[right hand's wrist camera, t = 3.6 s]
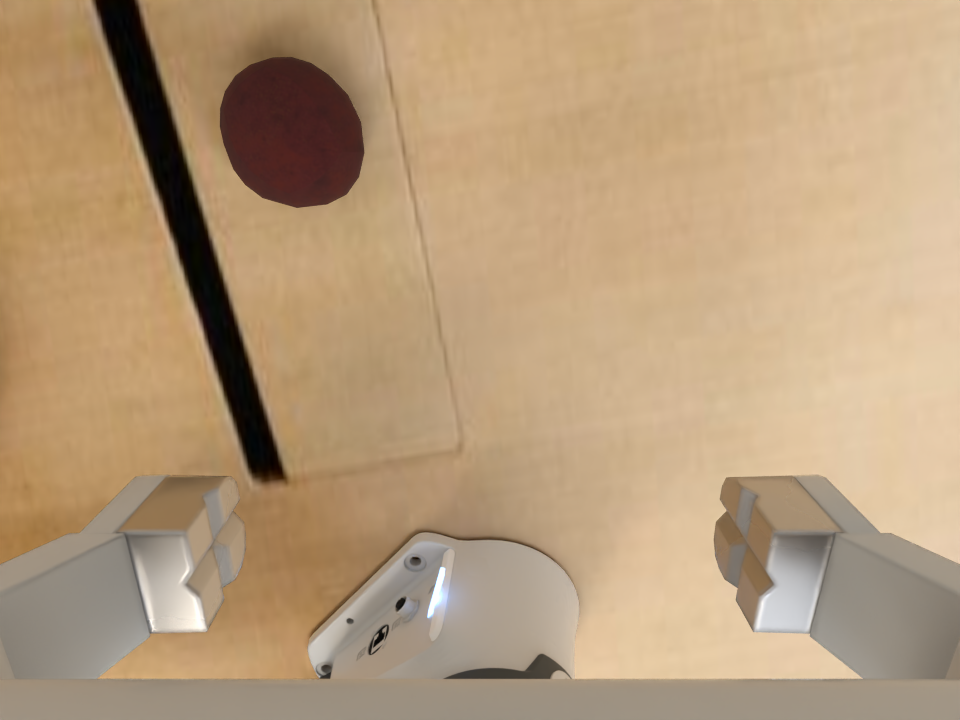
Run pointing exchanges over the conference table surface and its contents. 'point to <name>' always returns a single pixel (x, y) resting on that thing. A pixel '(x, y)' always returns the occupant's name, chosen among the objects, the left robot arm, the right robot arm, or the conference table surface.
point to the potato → (291, 133)
